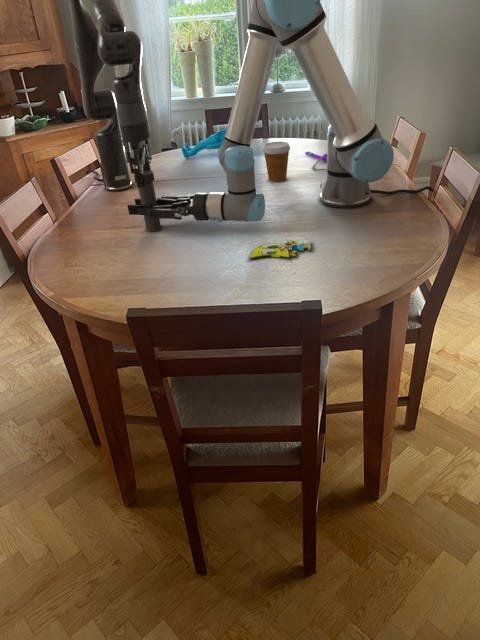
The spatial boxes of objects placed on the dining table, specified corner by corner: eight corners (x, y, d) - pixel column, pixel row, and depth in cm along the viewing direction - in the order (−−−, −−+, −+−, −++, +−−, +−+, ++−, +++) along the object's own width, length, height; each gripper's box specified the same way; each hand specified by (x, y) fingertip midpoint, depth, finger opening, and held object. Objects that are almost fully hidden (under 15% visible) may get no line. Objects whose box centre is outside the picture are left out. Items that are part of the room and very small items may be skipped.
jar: (162, 225, 143) (152, 172, 135) (159, 231, 140) (150, 176, 131) (147, 226, 144) (137, 173, 135) (145, 232, 140) (134, 177, 131)
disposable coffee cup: (260, 182, 170) (258, 147, 164) (269, 174, 177) (267, 141, 171) (286, 183, 167) (285, 148, 160) (294, 175, 174) (293, 141, 168)
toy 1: (187, 137, 214) (250, 117, 204) (195, 160, 219) (257, 142, 209) (175, 147, 200) (242, 126, 190) (184, 171, 205) (250, 153, 195)
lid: (135, 179, 136) (134, 171, 135) (154, 177, 136) (153, 169, 135) (135, 184, 131) (133, 176, 130) (154, 182, 132) (153, 174, 131)
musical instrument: (342, 175, 173) (362, 153, 185) (341, 169, 172) (361, 148, 184) (283, 174, 186) (305, 153, 198) (282, 169, 184) (305, 148, 196)
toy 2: (310, 255, 116) (249, 256, 118) (310, 259, 116) (249, 259, 119) (310, 238, 124) (253, 239, 127) (310, 241, 125) (253, 242, 127)
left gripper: (126, 116, 132) (138, 175, 141) (111, 127, 120) (125, 191, 129) (153, 114, 131) (163, 174, 140) (140, 125, 119) (152, 190, 128)
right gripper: (202, 231, 129) (122, 230, 134) (218, 208, 143) (146, 208, 148) (198, 204, 125) (116, 204, 130) (216, 183, 139) (141, 184, 144)
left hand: (145, 182), depth 134 cm, fingers open, 7 cm apart
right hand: (132, 206), depth 139 cm, fingers closed on jar, 4 cm apart
